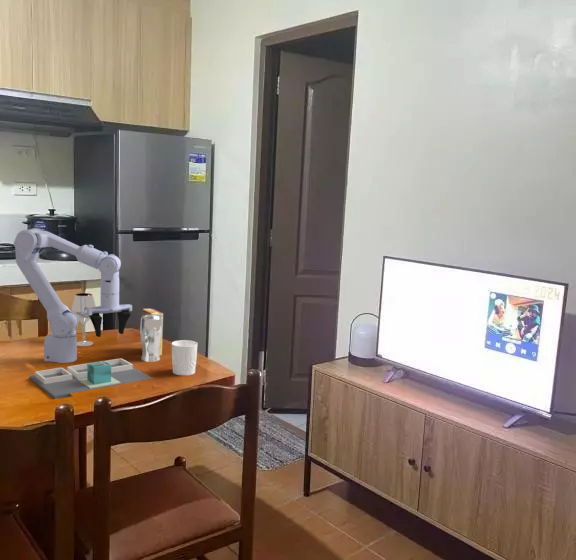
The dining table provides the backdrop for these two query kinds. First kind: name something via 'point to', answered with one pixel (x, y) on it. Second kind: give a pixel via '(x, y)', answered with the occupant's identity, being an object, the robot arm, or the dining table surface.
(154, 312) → the candy box
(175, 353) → the white cup
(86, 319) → the wineglass
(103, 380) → the teal letter cube
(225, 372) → the dining table surface
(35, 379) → the organizer board
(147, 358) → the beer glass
